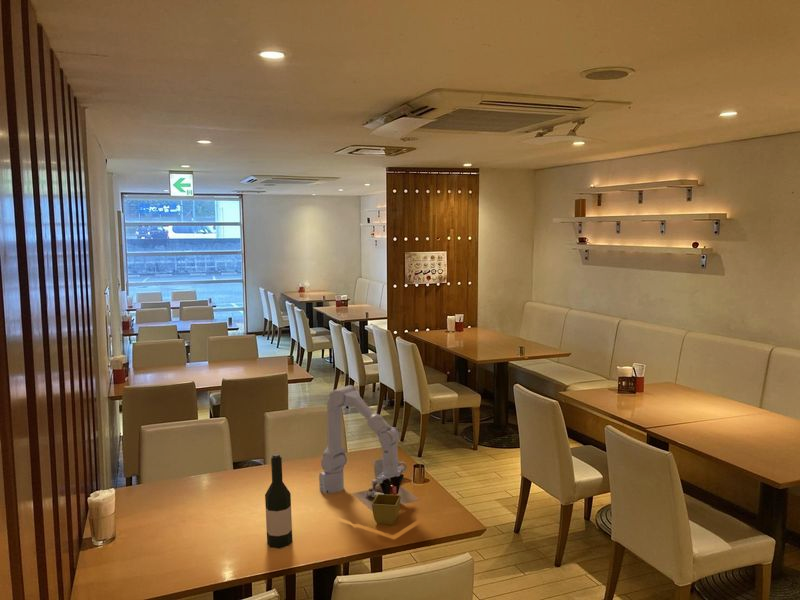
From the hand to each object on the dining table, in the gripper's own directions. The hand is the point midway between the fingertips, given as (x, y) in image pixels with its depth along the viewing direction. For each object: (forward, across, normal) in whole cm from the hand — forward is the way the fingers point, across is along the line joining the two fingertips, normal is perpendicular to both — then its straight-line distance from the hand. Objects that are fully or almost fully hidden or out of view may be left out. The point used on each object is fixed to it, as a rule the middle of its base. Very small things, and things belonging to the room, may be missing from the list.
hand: (391, 495), depth 229 cm
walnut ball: (+3, +5, +10) cm, 12 cm away
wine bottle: (+4, -44, +13) cm, 46 cm away
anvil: (+3, +7, +12) cm, 15 cm away
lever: (+2, 0, +5) cm, 6 cm away
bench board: (+4, +3, +6) cm, 8 cm away
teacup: (+4, +21, +17) cm, 27 cm away
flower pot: (+4, -13, -8) cm, 16 cm away
